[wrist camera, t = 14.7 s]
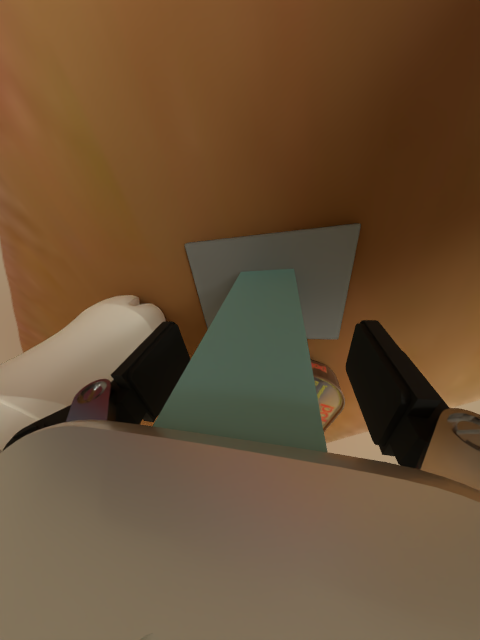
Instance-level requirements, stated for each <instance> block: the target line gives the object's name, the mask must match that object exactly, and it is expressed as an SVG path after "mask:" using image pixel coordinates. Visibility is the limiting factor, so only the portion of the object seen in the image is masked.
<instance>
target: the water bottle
mask: <svg viewBox="0 0 480 640" xmlns="http://www.w3.org/2000/svg"><path fill="white" fill-rule="evenodd" d="M139 304H140V301H139V297H136V296H134V295H122V296H115V297H112V298H108V299H105V300H103V301H101V302H98V303H96V304H95V305H93V306H91V307H89V308H87V309H86V310H84V311H83V312H82V313H81V314H80V315H79V316H78V317H76V318H75V319H74V320H73V321H72V322H71V323H70V324H68V325H67V326H66V327H65V328H63V329H62V330H60V331H59V332H58V333H56V334H55V335H53V336H51V337H50V338H48V339H47V340H45V341H43V342H42V343H40V344H38V345H37V346H35V347H33V348H31V349H29V350H28V351H26V352H24V353H22V354H20V355H18V356H16V357H14V358H12V359H10V360H8V361H6V362H4V363H3V364H0V450H2V451H3V449H4V447H5V446H6V444H7V443H8V442H9V441H10V440H11V438H12V437H13V436H14V435H15V434H16V433H17V432H18V431H20V430H21V429H23V428H24V427H26V426H29V425H30V424H32V423H34V422H36V421H38V420H40V419H42V418H44V417H47V416H49V415H51V414H53V413H55V412H57V411H59V410H61V409H63V408H65V407H67V406H69V405H71V404H72V401H73V399H74V397H75V395H76V394H77V393H78V392H79V391H80V390H81V389H82V388H83V387H85V386H86V385H88V384H89V383H91V382H93V381H96V380H99V379H108V380H109V381H110V382H112V381H113V380H114V379H113V378H112V377H111V374H112V373H113V372H114V371H115V370H116V369H117V368H118V367H119V366H120V365H121V364H122V363H123V362H124V361H125V360H126V359H127V358H128V357H129V355H130V354H131V353H132V352H133V351H134V350H135V349H136V348H137V347H138V346H139V345H140V344H141V343H142V342H143V341H144V340H145V339H146V338H147V337H148V336H149V335H150V334H151V333H152V332H153V331H154V330H155V329H156V328H157V327H158V326H159V325H160V324H161V323H162V322H166V321H165V317H164V314H163V312H162V311H161V310H160V309H159V308H158V307H157V306H155V305H154V304H141V305H139Z"/></svg>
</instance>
